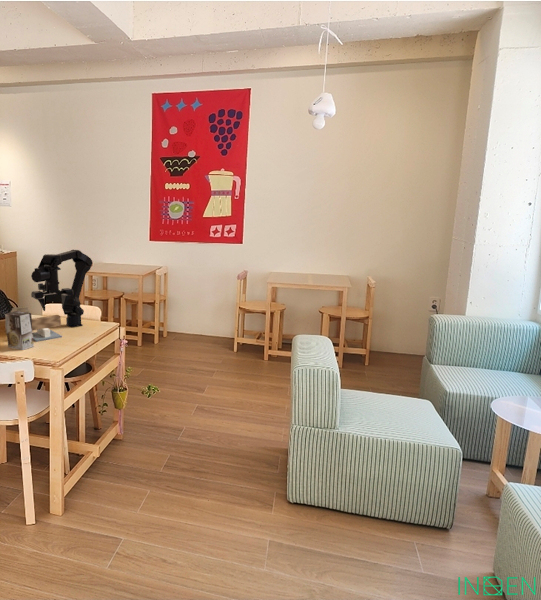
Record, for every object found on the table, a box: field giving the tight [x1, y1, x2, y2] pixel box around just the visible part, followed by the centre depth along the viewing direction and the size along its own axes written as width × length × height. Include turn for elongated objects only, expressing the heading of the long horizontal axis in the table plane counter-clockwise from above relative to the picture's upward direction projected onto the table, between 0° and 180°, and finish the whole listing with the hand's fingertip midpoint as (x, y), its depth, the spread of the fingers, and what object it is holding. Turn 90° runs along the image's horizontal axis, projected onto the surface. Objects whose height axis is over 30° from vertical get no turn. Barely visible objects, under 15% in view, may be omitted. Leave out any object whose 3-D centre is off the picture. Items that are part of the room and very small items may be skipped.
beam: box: [32, 314, 62, 332], centre depth 218 cm, size 16×4×5 cm, turn 141°
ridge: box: [33, 328, 63, 343], centre depth 219 cm, size 12×14×4 cm
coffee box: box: [4, 311, 35, 351], centre depth 201 cm, size 9×6×16 cm
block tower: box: [4, 306, 29, 336], centre depth 233 cm, size 8×8×29 cm
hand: (53, 309), depth 225 cm, fingers open, 9 cm apart
